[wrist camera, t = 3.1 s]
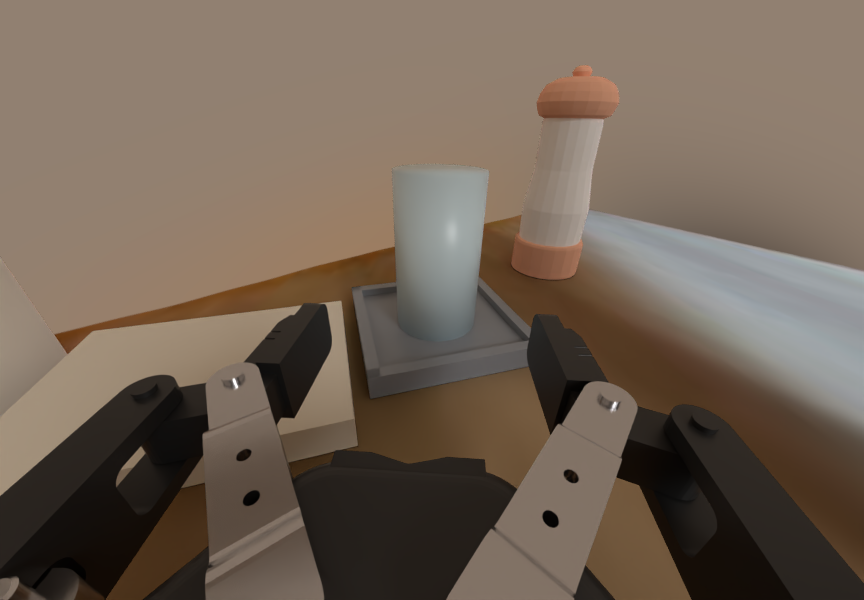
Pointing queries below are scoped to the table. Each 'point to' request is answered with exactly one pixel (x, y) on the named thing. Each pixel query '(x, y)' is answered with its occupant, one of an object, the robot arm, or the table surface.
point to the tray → (435, 343)
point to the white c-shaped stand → (140, 358)
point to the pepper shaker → (562, 174)
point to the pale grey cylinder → (438, 247)
